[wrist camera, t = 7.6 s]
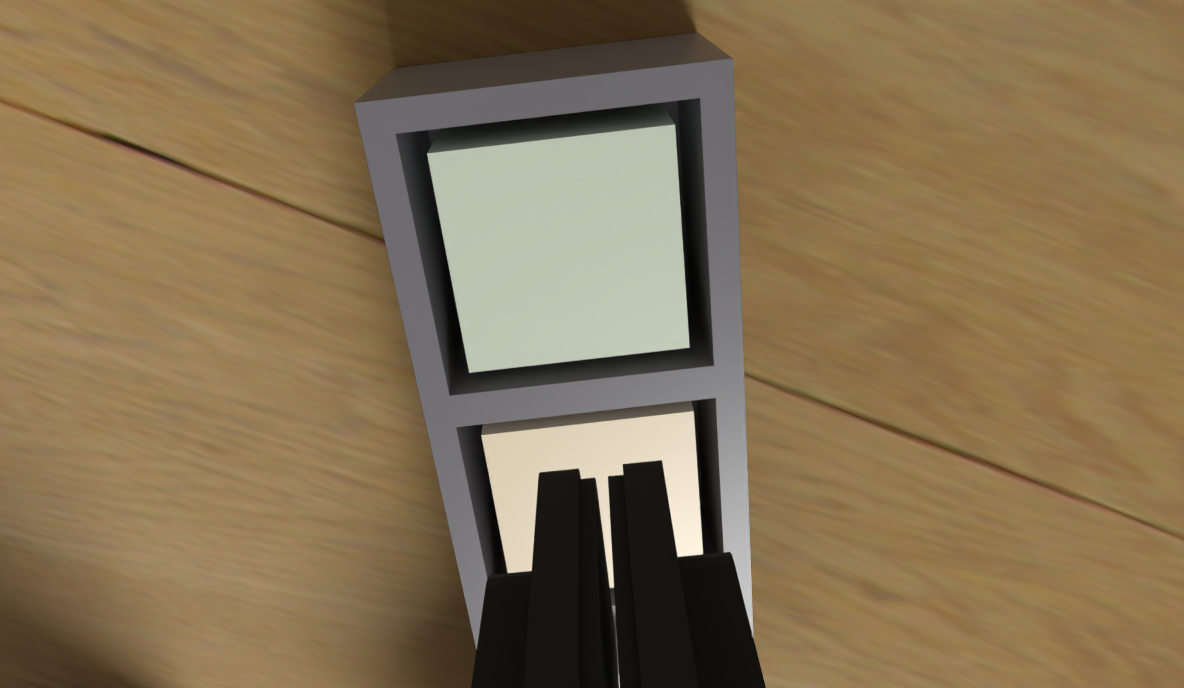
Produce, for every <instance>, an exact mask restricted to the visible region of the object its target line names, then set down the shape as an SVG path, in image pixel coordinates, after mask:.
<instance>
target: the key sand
mask: <svg viewBox="0 0 1184 688" xmlns="http://www.w3.org/2000/svg"><path fill="white" fill-rule="evenodd" d="M481 436H482V441H483V447H484V452H485V457H486V462H487V467H488V473H489V478H490V483H491V488H492V493H493V499H494V504H495V509H496V514H497V519H498V525H499V530H500V535H501V540H502V545H503V551H504V556H505V561H506V566H507V571H508V573H515V572H526V571H532V559H533V545H534V531H535V517H536V503H537V489H538V477H539V473H540V472H548V471H558V470H568V469H578V468H579V471H580V476H581V479H585V478H596V484H597V491H598V499H599V507H600V515H601V523H602V531H603V538H604V546H605V554H606V562H607V570H608V578H609V586H610V588H614V578H613V560H612V542H611V524H610V506H609V489H608V476H615V475H623V464H628V463H638V462H648V461H658V460H662V463H663V469H664V476H665V482H666V488H667V494H668V500H669V507H670V513H671V519H672V525H673V531H674V538H675V544H676V550H677V556H678V557H682V556H692V555H703V546H702V530H701V515H700V500H699V484H698V469H697V454H696V438H695V423H694V410H693V407H692V403H691V401H684V402H675V403H666V404H657V405H648V406H640V407H631V408H622V409H613V410H604V411H595V412H587V413H578V414H569V415H560V416H551V417H542V418H534V419H525V420H516V421H507V422H498V423H489V424H483V427H482V434H481Z"/></svg>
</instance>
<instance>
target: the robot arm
mask: <svg viewBox="0 0 1184 688" xmlns="http://www.w3.org/2000/svg"><path fill="white" fill-rule="evenodd" d="M608 489H609V506H610V524H611V542H612V560H613V578H614V595H615V613H616V631H617V644H616V634H615V625H614V617H613V609H612V601H611V593H610V586H609V578H608V570H607V562H606V554H605V546H604V538H603V531H602V523H601V515H600V507H599V499H598V491H597V484H596V478H585V479H581V476H580V471H579V468H578V469H568V470H558V471H548V472H540V473H539V477H538V489H537V503H536V517H535V531H534V545H533V559H532V571H526V572H515V573H505V574H495V575H489V577H488V579H487V583H486V588H485V595H484V602H483V609H482V616H481V623H480V630H479V637H478V644H477V651H476V659H475V666H474V673H473V680H472V687H471V688H619V683H620V688H766V687H765V683H764V679H763V675H762V671H761V667H760V663H759V659H758V655H757V651H756V647H755V643H754V639H753V635H752V631H751V627H750V623H749V619H748V615H747V611H746V607H745V603H744V599H743V595H742V591H741V587H740V583H739V579H738V575H737V571H736V567H735V563H734V560H733V556H732V554H731V552H723V553H713V554H703V555H692V556H682V557H678V556H677V550H676V544H675V538H674V531H673V525H672V519H671V513H670V507H669V500H668V494H667V488H666V482H665V476H664V469H663V463H662V460H658V461H648V462H638V463H628V464H623V475H615V476H608ZM617 649H618V658H617ZM618 667H619V676H618Z"/></svg>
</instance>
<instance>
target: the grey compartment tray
mask: <svg viewBox="0 0 1184 688" xmlns="http://www.w3.org/2000/svg"><path fill="white" fill-rule="evenodd" d="M653 103H662V104H663V106H664V107H665V109H666V111H667V112H668V114H669V115H670V117H671V119H672V120H673V122H674V124H675V132H676V147H677V162H678V178H679V193H680V208H681V224H682V239H683V254H684V270H685V285H686V300H687V316H688V331H689V346H690V348H682V349H673V350H665V351H656V352H647V353H638V354H630V355H621V356H612V357H603V358H595V359H586V360H577V361H568V362H559V363H551V364H542V365H533V366H524V367H516V368H507V369H498V370H489V371H481V372H472V373H469V369H468V364H467V359H466V353H465V348H464V343H463V338H462V333H461V327H460V322H459V317H458V312H457V307H456V301H455V296H454V291H453V286H452V281H451V275H450V270H449V265H448V260H447V255H446V249H445V244H444V239H443V234H442V229H441V224H440V218H439V213H438V208H437V203H436V198H435V192H434V187H433V182H432V177H431V172H430V166H429V161H428V156H427V153H428V151H429V149H430V147H431V146H432V144H433V142H434V140H435V139H436V137H437V135H438V133H439V132H440V130H441V128H449V127H458V126H466V125H475V124H483V123H492V122H500V121H509V120H517V119H526V118H534V117H543V116H551V115H560V114H568V113H577V112H585V111H594V110H602V109H611V108H619V107H628V106H636V105H645V104H653ZM354 105H355V110H356V114H357V119H358V123H359V128H360V132H361V137H362V141H363V146H364V150H365V155H366V159H367V163H368V168H369V172H370V177H371V181H372V186H373V190H374V195H375V199H376V204H377V208H378V213H379V217H380V221H381V226H382V230H383V235H384V239H385V244H386V248H387V253H388V257H389V262H390V266H391V271H392V275H393V280H394V284H395V288H396V293H397V297H398V302H399V306H400V311H401V315H402V320H403V324H404V329H405V333H406V338H407V342H408V346H409V351H410V355H411V360H412V364H413V369H414V373H415V378H416V382H417V387H418V391H419V396H420V400H421V405H422V409H423V413H424V418H425V422H426V427H427V431H428V436H429V440H430V445H431V449H432V454H433V458H434V463H435V467H436V471H437V476H438V480H439V485H440V489H441V494H442V498H443V503H444V507H445V512H446V516H447V521H448V525H449V530H450V534H451V538H452V543H453V547H454V552H455V556H456V561H457V565H458V570H459V574H460V579H461V583H462V588H463V592H464V596H465V601H466V605H467V610H468V614H469V619H470V623H471V628H472V632H473V637H474V641H475V646H476V650H477V644H478V637H479V630H480V623H481V616H482V609H483V602H484V595H485V588H486V583H487V579H488V577H489V575H495V574H505V573H508V571H507V566H506V561H505V556H504V551H503V545H502V540H501V535H500V530H499V525H498V519H497V514H496V509H495V504H494V499H493V493H492V488H491V483H490V478H489V473H488V467H487V462H486V457H485V452H484V447H483V441H482V436H481V434H482V427H483V424H489V423H498V422H507V421H516V420H525V419H534V418H542V417H551V416H560V415H569V414H578V413H587V412H595V411H604V410H613V409H622V408H631V407H640V406H648V405H657V404H666V403H675V402H684V401H691V403H692V407H693V410H694V423H695V438H696V454H697V469H698V484H699V500H700V515H701V530H702V546H703V554H713V553H723V552H731V554H732V556H733V560H734V563H735V567H736V571H737V575H738V579H739V583H740V587H741V591H742V595H743V599H744V603H745V607H746V611H747V615H748V619H749V623H750V627H751V631H752V635H753V616H752V587H751V559H750V530H749V502H748V473H747V445H746V416H745V388H744V359H743V331H742V302H741V273H740V245H739V216H738V188H737V159H736V131H735V102H734V74H733V58H732V57H730V56H729V55H728V54H726V53H725V52H723V51H722V50H721V49H719V48H718V47H717V46H715V45H714V44H713V43H711V42H710V41H709V40H707V39H706V38H704V37H703V36H702V35H700V34H699V33H698V32H696V33H688V34H679V35H671V36H662V37H654V38H645V39H637V40H629V41H620V42H612V43H603V44H595V45H586V46H578V47H569V48H561V49H553V50H544V51H536V52H527V53H519V54H510V55H502V56H493V57H485V58H477V59H468V60H460V61H451V62H443V63H434V64H426V65H418V66H409V67H401V68H394V69H393V70H391V71H390V72H389V73H388V74H387V75H386V76H385V77H383V78H382V79H381V80H380V81H379V82H378V83H377V84H375V85H374V86H373V87H372V88H371V89H370V90H369V91H367V92H366V93H365V94H364V95H363V96H362V97H361V98H359V99H358V100H357V101H356V102H355V103H354ZM610 593H611V601H612V609H613V617H614V625H615V630H616V613H615V595H614V588H610Z"/></svg>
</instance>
